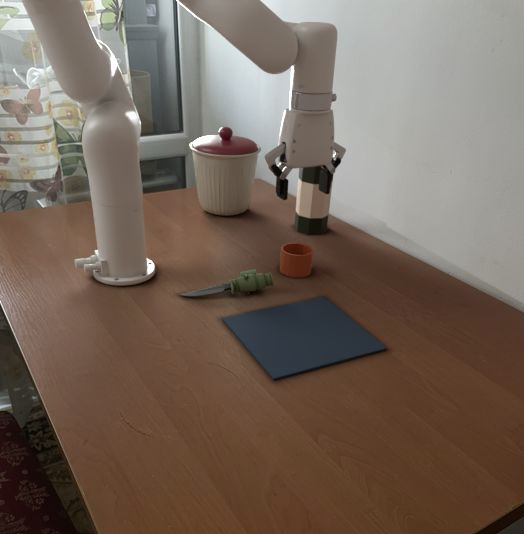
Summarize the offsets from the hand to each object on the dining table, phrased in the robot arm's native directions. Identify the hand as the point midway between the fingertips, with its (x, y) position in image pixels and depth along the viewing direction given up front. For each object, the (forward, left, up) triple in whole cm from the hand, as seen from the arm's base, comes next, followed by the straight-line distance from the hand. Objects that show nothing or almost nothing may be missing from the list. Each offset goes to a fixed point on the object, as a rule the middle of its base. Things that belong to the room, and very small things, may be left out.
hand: (303, 195), depth 108 cm
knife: (-18, -3, -17) cm, 25 cm away
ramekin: (0, +1, -17) cm, 17 cm away
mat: (-12, -22, -17) cm, 30 cm away
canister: (+1, +41, -17) cm, 44 cm away
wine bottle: (+16, +21, -17) cm, 31 cm away
